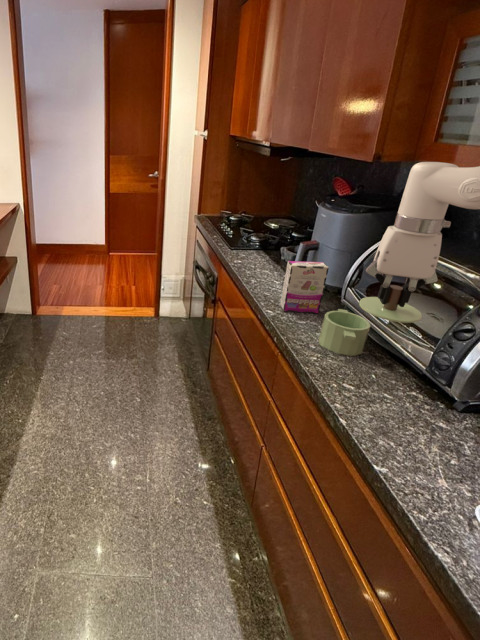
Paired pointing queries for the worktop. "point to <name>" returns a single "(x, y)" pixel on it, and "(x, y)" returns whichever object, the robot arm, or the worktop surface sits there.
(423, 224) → the robot arm
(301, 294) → the candy bar box
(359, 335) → the pot
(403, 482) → the worktop surface
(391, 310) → the lid
